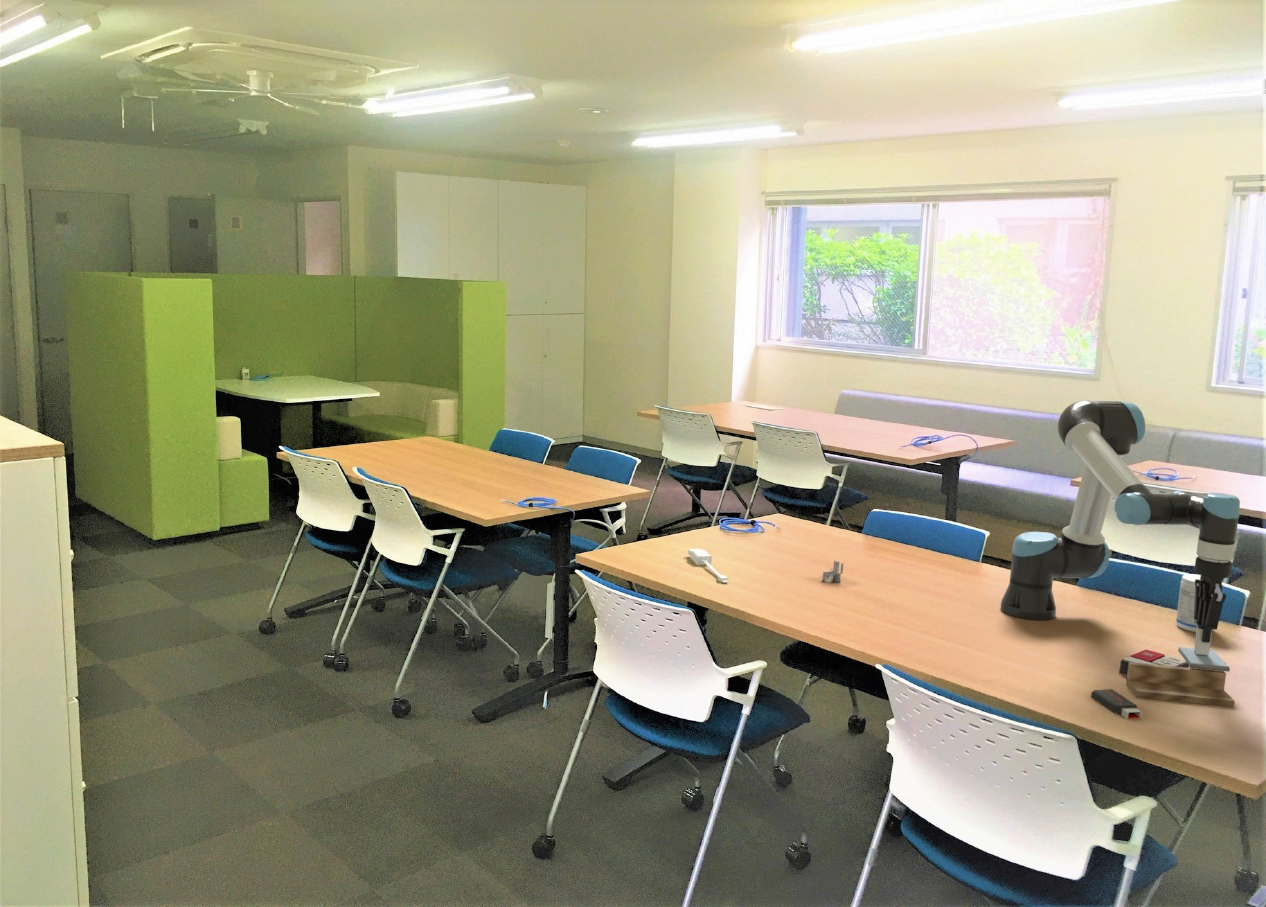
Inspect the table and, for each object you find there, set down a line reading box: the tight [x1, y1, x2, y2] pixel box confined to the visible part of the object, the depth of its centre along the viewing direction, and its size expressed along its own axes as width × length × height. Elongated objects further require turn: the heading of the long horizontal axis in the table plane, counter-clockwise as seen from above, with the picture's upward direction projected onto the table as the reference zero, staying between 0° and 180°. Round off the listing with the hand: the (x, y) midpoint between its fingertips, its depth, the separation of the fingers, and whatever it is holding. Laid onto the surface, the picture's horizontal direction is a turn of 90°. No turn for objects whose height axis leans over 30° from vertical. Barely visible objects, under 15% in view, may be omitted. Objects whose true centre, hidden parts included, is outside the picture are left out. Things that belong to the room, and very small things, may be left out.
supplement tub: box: [1175, 573, 1201, 633], centre depth 286 cm, size 10×10×15 cm
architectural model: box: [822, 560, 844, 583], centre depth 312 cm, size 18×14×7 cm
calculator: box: [1118, 649, 1190, 676], centre depth 251 cm, size 11×4×15 cm
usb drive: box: [1090, 688, 1142, 720], centre depth 228 cm, size 5×12×3 cm, turn 9°
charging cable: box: [687, 548, 729, 584], centre depth 328 cm, size 5×32×3 cm, turn 14°
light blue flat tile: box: [1177, 646, 1231, 672], centre depth 242 cm, size 8×10×1 cm
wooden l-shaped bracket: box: [1125, 662, 1236, 708], centre depth 237 cm, size 21×8×6 cm, turn 80°
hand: (1201, 653), depth 243 cm, fingers closed
